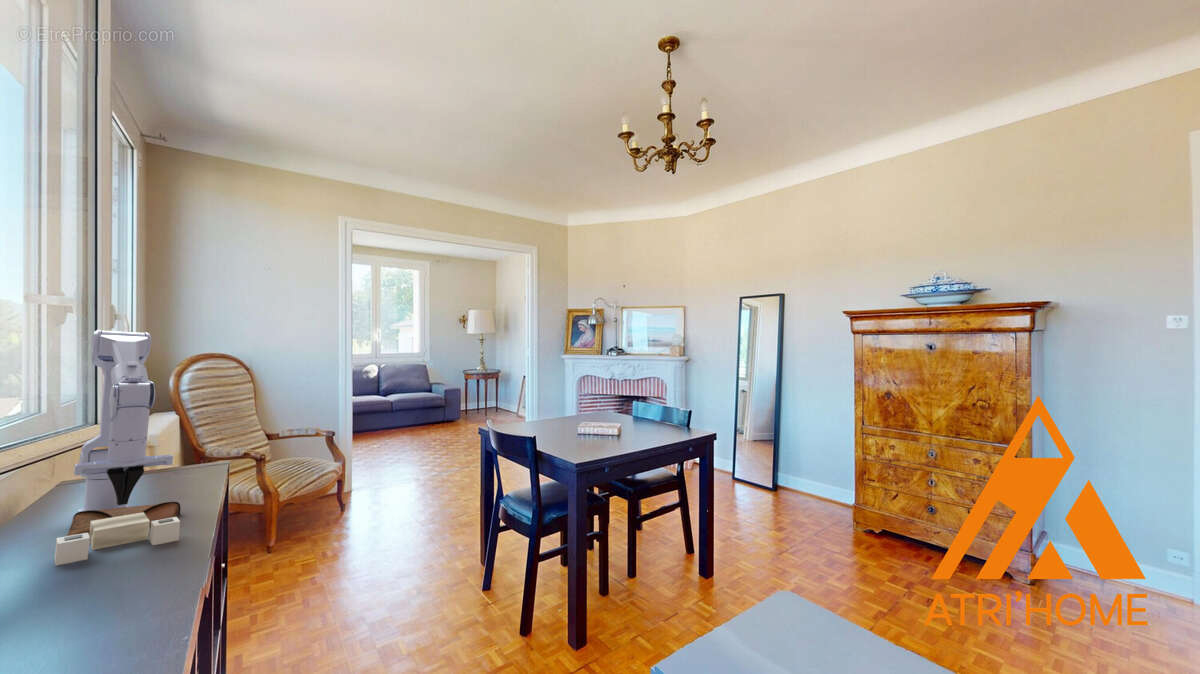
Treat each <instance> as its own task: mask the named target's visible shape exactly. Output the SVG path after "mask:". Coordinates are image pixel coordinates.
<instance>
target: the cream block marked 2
mask: <svg viewBox="0 0 1200 674" xmlns="http://www.w3.org/2000/svg"><path fill="white" fill-rule="evenodd" d="M180 526H181V520H180V519H179V517H178V518H177V517H173V518H167V519H161V520H156V521H151V527H150V528H149V542H150V544H151V545H152V546H156V545H157V546H158V545H162V544H168V543H171V542H172V543H173V542H177V541H179V539H180V528H181V527H180Z"/></svg>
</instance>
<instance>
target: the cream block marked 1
mask: <svg viewBox="0 0 1200 674" xmlns="http://www.w3.org/2000/svg"><path fill="white" fill-rule="evenodd" d="M89 549H90V537H89V534H88V533H83V534H77V535H71V536H67V535H66V536H62V537H60V536H59V537H56V541H55V550H54V558H53V560H54V564H55V565H54V566H57V567H58V566H60V565H66V564H71V563H75V562H81V561H86V560H88V559H89V551H90V550H89Z"/></svg>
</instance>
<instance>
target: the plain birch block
mask: <svg viewBox="0 0 1200 674" xmlns="http://www.w3.org/2000/svg"><path fill="white" fill-rule="evenodd" d="M149 525H150V521H149V519H148V518H147V516H146V515H145V513H144V512H143V513H137V514H130V515H124V516H118V517H112V518H106V519H100V520H94V521H91V523H90V533H89V537H90V542H89V545H90V547H91V550H92V551H94V550H100V549H104V548H105V549H106V548H109V547H114V546H119V545H126V544H130V543H135V542H140V541H145V540H149V537H150V527H149Z"/></svg>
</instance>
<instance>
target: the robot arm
mask: <svg viewBox="0 0 1200 674" xmlns="http://www.w3.org/2000/svg"><path fill="white" fill-rule="evenodd" d="M151 348H152V336H151V334H150V333H149V332H134V331H133V332H132V331H117V330H116V331H114V330H101V329H96V330H95V331H94V332H93V334H92V339H91V349H90V350H91V352H90V361H91V364H92V365H93V366H96V367H99V368H101V371H102V374H103V384H102V385H103V387H102V396H101V399H102V400H101V410H100V411H101V412H100V423H99V434H97V436H94V438H91V439H89V440H87V441H86V442H84V444H83V445H82V446H81V451H80V454H79V455H80V456H79V460H78V463H75V464H74V468H73V475H74V476H80V477H82V478H86V480H85V491H84V500H83V501H84V502H83V508H79V509H77V510H78V511H77V513H78V512H81V511H88V510H107V509H115V508H124V507H129V506H128V503H129V499H130V496H131V494H132V492H133V490H134V489H135V486H136V485H137V483H138V482H139V480H140V479H141V477H142V476H143V474H144V473H145V469H144V468H148V467H157V466H172V465H173V462H174V461H173V459H174V456H173V455H172V454H165V455H164V454H163V455H146V453H147V442H148V432H149V423H150V413H151V412H150V409H153V407H154V404H155V399H156V388H155V387H156V386H155V383H154V382H153V381H152V380H149V377H148V371H147V367H146V365H144V364H145V363H146V361H147V359H148V357H149V355H150V353H151V350H152V349H151ZM105 447H107V448H105ZM96 448H99V449H96Z"/></svg>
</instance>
